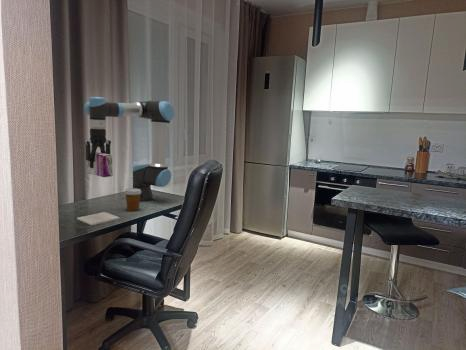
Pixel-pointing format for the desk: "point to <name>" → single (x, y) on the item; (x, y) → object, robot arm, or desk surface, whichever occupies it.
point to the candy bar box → (102, 165)
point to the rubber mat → (98, 218)
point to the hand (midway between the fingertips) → (98, 173)
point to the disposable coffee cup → (133, 198)
